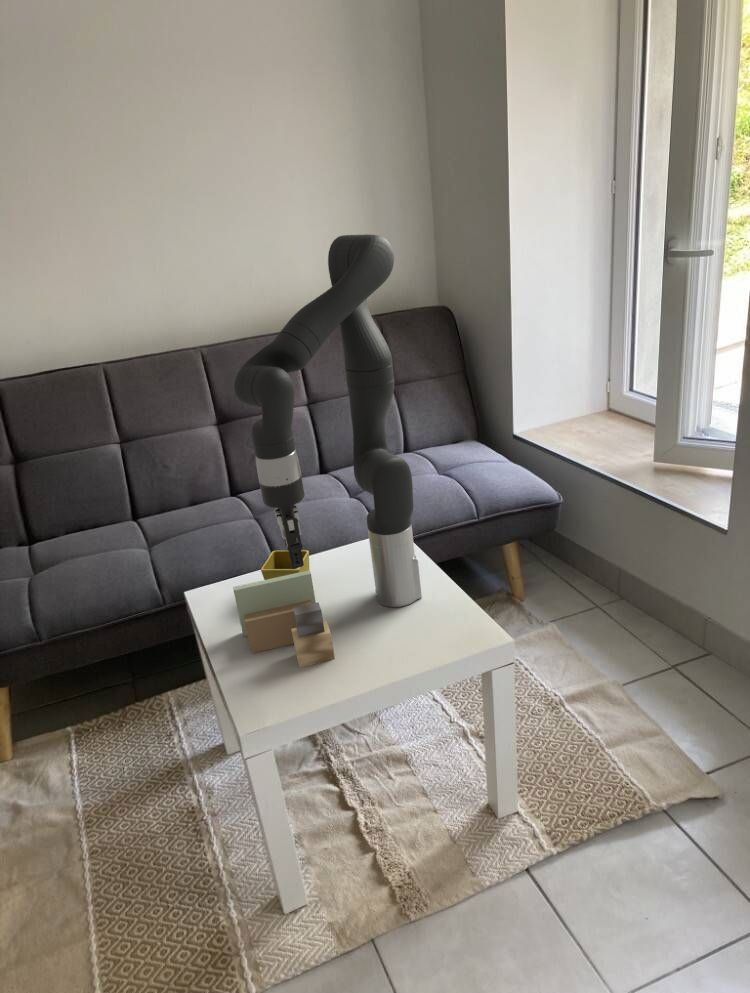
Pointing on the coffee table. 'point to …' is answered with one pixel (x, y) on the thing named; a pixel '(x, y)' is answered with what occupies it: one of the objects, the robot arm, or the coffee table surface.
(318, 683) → the coffee table surface
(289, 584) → the wall board
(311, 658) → the cabinet block
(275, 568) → the flower pot
